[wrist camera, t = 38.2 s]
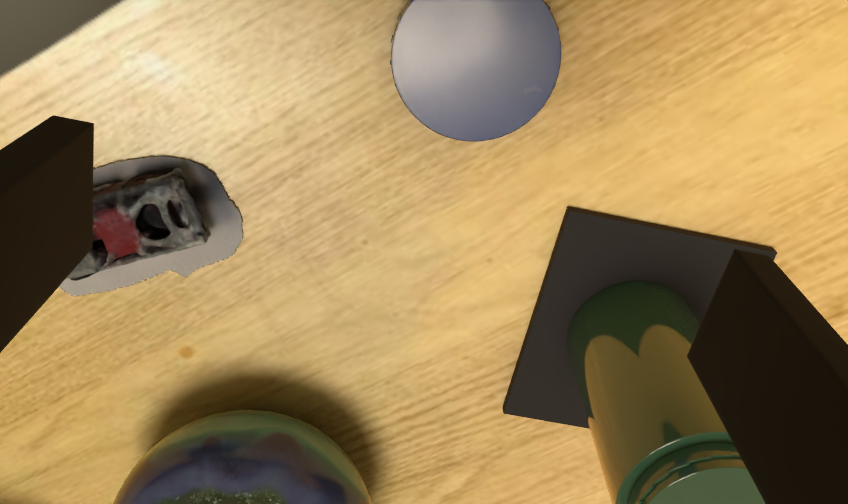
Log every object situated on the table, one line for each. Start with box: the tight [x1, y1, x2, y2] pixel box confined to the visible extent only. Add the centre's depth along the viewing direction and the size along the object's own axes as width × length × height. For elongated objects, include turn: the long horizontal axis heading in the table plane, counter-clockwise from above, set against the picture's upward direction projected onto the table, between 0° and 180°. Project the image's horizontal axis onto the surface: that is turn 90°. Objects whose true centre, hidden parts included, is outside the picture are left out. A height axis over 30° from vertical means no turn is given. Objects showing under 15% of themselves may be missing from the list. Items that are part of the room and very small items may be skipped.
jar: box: [566, 281, 765, 504], centre depth 38 cm, size 8×8×14 cm
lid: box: [390, 0, 561, 141], centre depth 37 cm, size 8×8×2 cm
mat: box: [503, 207, 777, 428], centre depth 44 cm, size 14×12×1 cm
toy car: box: [60, 156, 243, 296], centre depth 40 cm, size 8×12×3 cm
